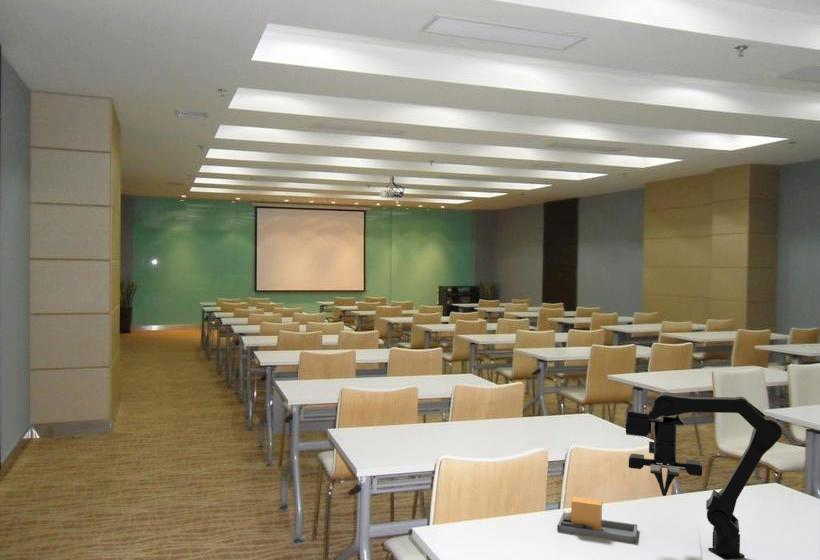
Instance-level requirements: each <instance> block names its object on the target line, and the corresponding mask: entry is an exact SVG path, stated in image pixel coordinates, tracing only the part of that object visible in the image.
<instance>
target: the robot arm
mask: <svg viewBox="0 0 820 560" xmlns="http://www.w3.org/2000/svg"><path fill="white" fill-rule="evenodd" d="M688 413H716V414H717V413H721V414H722V413H725V414H739V415H740V416H741V417H742V418H743V419H744V420H745V421H746V422H747V423H748V424H749V425H750V426H751V427H752V428H753V429H752V433H751V436H750V439H749V443H748V445H747V447H746V449H745V450H744V452H743V454H742V455H741V457H740V459H739V461H738V463H736V466H735V467H734V469H733V471H732V473H731V475H730V476H729V478H728V480H727V481H726V482H725V485H724V486H723V487H722V489H721V490H719V491H717V490H715V489H713V490H712V492H711V495H710V497H709V498H707V500H706V503H705V505H706V506H705V508H706V509H705V510H706V518H707V521H708V522H709V524H710V525H712V527H713V531H712V547H708V548H707V551H709V552H710V553H713V554H714V555H715V556H718V557H719V558H721V559H723V560H732V559H741V558H745V554H744V553H742V552H741V534H740V524H739V523H740V522H739V519H738V518H737V516H735V515H734V512H735V509H736V506H737V505H736V504H737V500H738V499H739V496H741V493H742V492H743V490H744V488H745V487H746V485H747V484H748V482H749V479H750V478H751V476H752V474H753V473H754V471H755V469H756V468H757V466H758V465H759V463H760V461H761V459H762V458H763V456H764V454H765V453H767V452H768V451H770V450H771V449H772V447H773V446H775V444H777V442H778V441H779V440H780V439H781V437H782V434H783V431H782V428H781V425H780V423H779V421H778V420H777V419H776V418H775V417H773V416H771V415H766V414H764V413H763V412H762V411H761V410H759V408H757V407H756V406H754V404H752V403H751V402H749V400H748V399H747V398H746V397H744V396H735V397H733V396H731V397H730V396H729V397H726V396H722V397H721V396H719V397H718V396H715V397H714V396H687V395H683V394H680V393H675V392H668V391H664V392H660V394H658V395H657V396H656V398H655V399H654V404H653V406H652V408H650V409H649V410H648V412H644V411H643V412H641V411H635V410H630V409H629V410H628V411H627V416H626V423H625V435H627V436H634V437H643V438H648V436H649V435H652V434H654V438H653V440H654V441H649V442H648V454H653V458H645V454H639V453H630V454H629V457H628V468H629V469H636V470H642V468H643V467H644V466H646V467H649V468H650V470H649V471H650V474H652V475H654V477H655V478H656V481H657V483H658V486H659V488H660V489H659V490H660V492H661V495H662V496H663V497H666V496H667V494H668V492H669V489H670V487H671V484H672V482H673V480H674V479H675V478H676V477H679V476H680V470H681V471H686V473H688V475H689V476H695V477H696V476H697V477H702V476H703V466H702V465H703V464H702V462H701V461H700V460H694V459H688V458H687V459H685V462H680V461H677V435H678V434H677V433H678V431H677V429H678V428H677V427H678V426H684V424H685V420H684V419H682V418H681V417H680V415H684V414H688ZM660 417H662V418H660ZM653 423H654V428H653ZM653 429H654V430H653ZM653 431H654V433H653ZM663 468H664V469H666V477H665V483H664V475H663Z"/></svg>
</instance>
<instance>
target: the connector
mask: <svg viewBox="0 0 820 560" xmlns="http://www.w3.org/2000/svg"><path fill="white" fill-rule="evenodd" d="M572 497H573V498H572V499H571V510H570V511H569V510H563V511H562V514H563V519H564V520H571V523H577V524H585V525H588V526H591V527H592V530H597V531H601V529H602V520H603V500H602V499H596V498H589V497H587V498H586V497H580V496H572Z"/></svg>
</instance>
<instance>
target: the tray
mask: <svg viewBox="0 0 820 560" xmlns="http://www.w3.org/2000/svg"><path fill="white" fill-rule="evenodd" d="M556 527H557V528H556V530H557V532H561V533H567V534H575V535H581V536H588V537H594V538H601V539H605V540H612V541H613V540H614V541H621V542H628V543H633V544H636V543H637V534H638V524H634V523H628V522H623V521H622V522H621V521H614V520H607V519H602V529H601V531H597V530H592V527H591V526H588V525H585V524H577V523H571V520H564V519H563V513H562V515H561V516H560V519H559V521H558V523H557V526H556Z"/></svg>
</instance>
